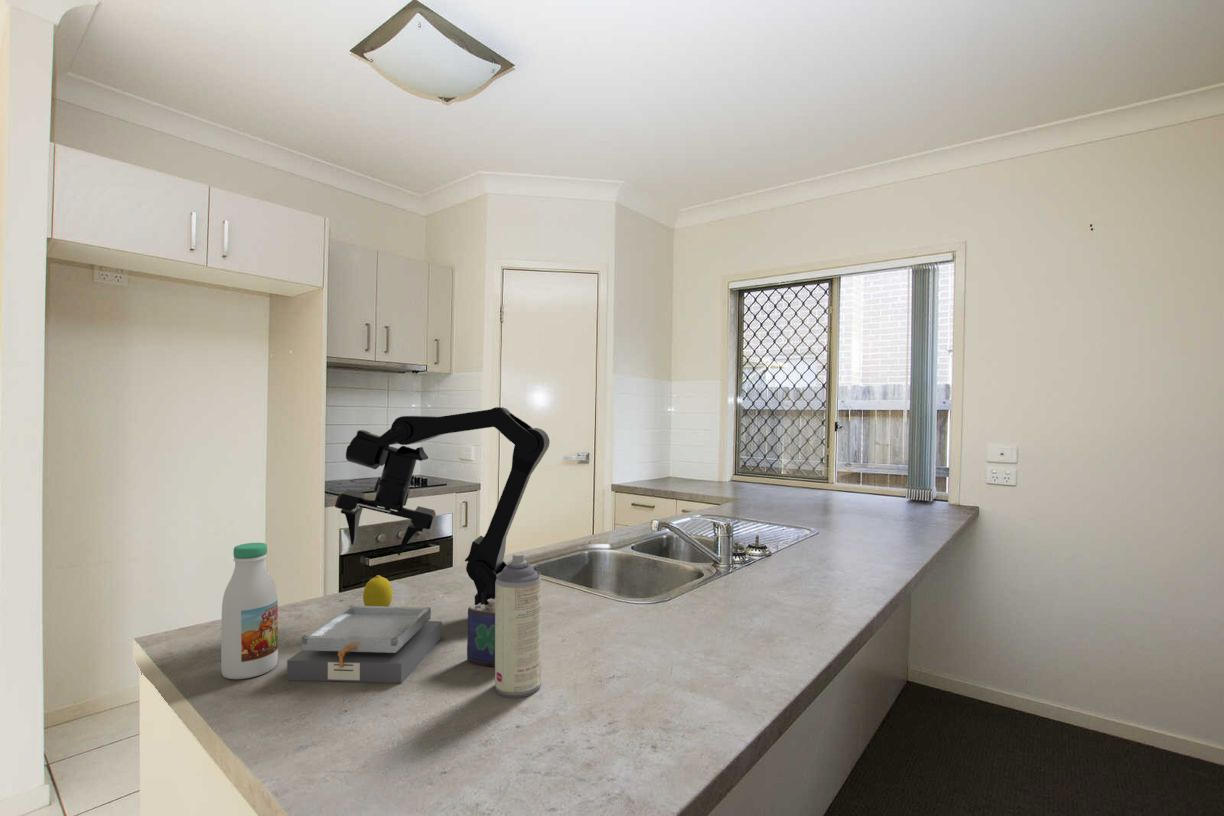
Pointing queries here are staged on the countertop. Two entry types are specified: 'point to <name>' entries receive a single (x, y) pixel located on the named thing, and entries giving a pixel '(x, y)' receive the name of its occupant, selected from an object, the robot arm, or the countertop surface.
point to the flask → (481, 634)
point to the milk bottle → (249, 616)
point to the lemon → (377, 592)
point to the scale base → (366, 661)
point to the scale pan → (367, 630)
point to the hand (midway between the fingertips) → (375, 549)
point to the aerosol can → (517, 629)
